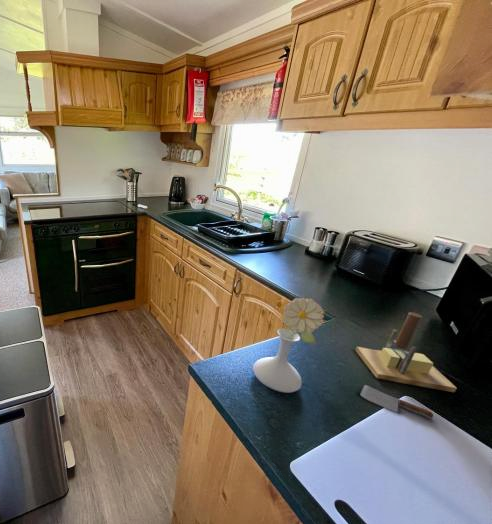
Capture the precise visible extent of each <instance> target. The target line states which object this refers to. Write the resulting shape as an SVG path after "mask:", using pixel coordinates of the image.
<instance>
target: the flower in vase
mask: <svg viewBox="0 0 492 524" xmlns="http://www.w3.org/2000/svg"><path fill="white" fill-rule="evenodd" d="M282 314H283V316H281V318H282V322H283V324H284V326H286V327H287V328H278V329H277V331H276V332H277V335H278V337H279V346H278V351H277V354H276V355H275V356H267V357H262V358H260V359H258V360H256V361H255V362H254V363H253V366H252V368H253V369H252V371H253V373H254V375H255V377H256V378H257V380H258V382H260V383H261V384H263V385H264V386H265V387H267V388H269V389H271V390H273V391H276V392H278V393H284V394H291V393H294V392H298V391H299V390H300V389H301V388H302V384H303V383H302V377H301V375H300V373H299V372H298V370H297V369H296V368H295V367H294V366H293V365H292V364H291V363H289V361H288V357H289V353H290V351H291V349H292V347H293V345H294V344H295V343H297V342H298V341H300V340H302V341H303V342H305V343H307V344H311V345H317V342H316V340H315V336H314V334H313V332H315V330H317V329H319V328H320V327H321V326H322V325H323V324H324V323H325V320H323V319H324V318H325V315H324V314H325V310H324V309H323V307H321V306H320V304H318V303H317V302H316V301H315V300H313V298H312V297H311V298H305V297H301V298H298V297H295V298H293V300H290V301H289V302H288V304H285V305H284V308H283V313H282ZM298 333H300V335H299V334H298Z"/></svg>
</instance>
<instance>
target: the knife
mask: <svg viewBox="0 0 492 524" xmlns="http://www.w3.org/2000/svg"><path fill="white" fill-rule="evenodd" d="M422 318H423V315H421V314H419V313H416V312H413V311H410V312H408V313H407V317H406V318H405V321H404V323H403V325H402V328H401V329H400V331H399V333H398V336H397V338H396V339H394V340H393V339H392V341H391V342H392V345H391V347H390V349H392V350H393V351H394V352H395V353H396V354H397V355H398V356H399V357H400V359H399V361H398V363H397V366H396V368H397V369H398V370H399V371H400V369H401V367H402V365H403V363H404V361H405V359H406V357H407V355H408V352H409V351H408V350H407V349H408V347H409V345H410V343H411V341H412V339H413V337H414V335H415V333H416V331H417V329H418V327H419V325H420V323H421V320H422Z"/></svg>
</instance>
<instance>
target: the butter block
mask: <svg viewBox="0 0 492 524" xmlns="http://www.w3.org/2000/svg"><path fill="white" fill-rule="evenodd" d="M407 352H408V353H409V351H407ZM432 366H434V363H433V361H431V359H430V358H428V357H427V356H426V355H425V354H424V353H419V352H415V354H414V356H413V358H412V360H411V362H410V364H409V366H408V368H407V370H408V371H414V372H420V373H425V374H428V373H429V371H430V369H431V368H432Z"/></svg>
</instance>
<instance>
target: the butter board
mask: <svg viewBox="0 0 492 524" xmlns="http://www.w3.org/2000/svg"><path fill="white" fill-rule="evenodd" d="M398 332H399V330H397V329H394V328H393V329H392V331H391V333H390V336H389V338H388V340H387V342H386V345H385V346H384V348H389V349H390V347H391V345H392V342H391V341H392V339H393V340H396V339H395V338H396V336H397V334H398ZM417 349H418V348H417V347H416V346H413V345H412V346H410V349H409V350H408V352H409V353H408V355H407V357H406V359H405V361H404V363H403V365H402V367H401V369H400V371H399V370H398V369H397V368H391V367H387V366H386V365H385V364H384V363H383V362H382V361H381V359H380V358H379V356H380V354H381V352H382V350H379V349H373V348H367V347H362V346H356V347H355V352H356V354H357V355H358V356H359V358H360V359H361V360H362V361H363V363H364V364H365V365H366V366H367V368H368V369H369V370H370V372H371V374H373V376H374V377H375V378H376V379H379V380H385V381H389V382H395V383H401V384H405V385H406V384H407V385H411V386H417V387H422V388H428V389H434V390H439V391H443V392H449V393H450V392H451V393H455V392H456V391H457V388H458V387H456V385H454V384H453V383H452V382H451V381H450V380H449V379H448V378H447V377H446V376H445V375H443V374H442V372H440V371H439V370H438V369H437V368H436V367H435V366H434V365H433V366H432V368H431V369H430V371H429V373H428V374H425V373H420V372H414V371H408V370H407V368H408V366H409V364H410V362H411V360H412V358H413V356H414V354H415V353H417Z"/></svg>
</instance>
